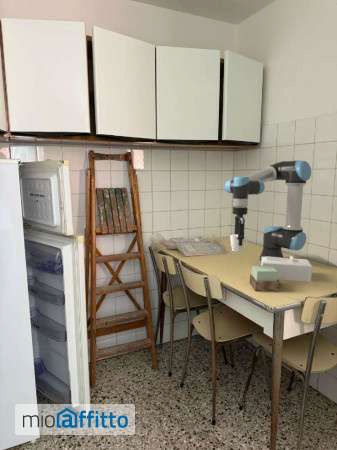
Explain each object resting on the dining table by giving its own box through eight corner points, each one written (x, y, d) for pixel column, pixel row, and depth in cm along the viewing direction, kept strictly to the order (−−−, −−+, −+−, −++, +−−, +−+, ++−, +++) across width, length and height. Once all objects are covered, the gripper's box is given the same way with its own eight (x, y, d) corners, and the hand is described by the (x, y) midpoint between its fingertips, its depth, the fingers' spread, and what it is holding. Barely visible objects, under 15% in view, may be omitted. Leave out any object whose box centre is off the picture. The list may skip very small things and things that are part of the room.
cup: (227, 249, 166) (227, 234, 165) (244, 248, 168) (244, 234, 167) (232, 251, 159) (232, 236, 158) (250, 251, 161) (250, 236, 160)
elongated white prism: (310, 282, 164) (312, 262, 163) (262, 278, 170) (263, 259, 169) (305, 273, 178) (307, 255, 176) (261, 270, 184) (261, 252, 183)
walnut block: (272, 283, 162) (272, 274, 161) (280, 292, 150) (280, 282, 149) (249, 283, 162) (249, 274, 161) (255, 291, 150) (255, 282, 150)
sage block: (270, 274, 161) (271, 265, 160) (277, 281, 151) (277, 271, 150) (251, 274, 161) (252, 265, 160) (256, 281, 151) (257, 271, 150)
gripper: (229, 204, 169) (228, 245, 173) (236, 208, 150) (234, 254, 154) (243, 204, 169) (241, 245, 173) (251, 208, 150) (249, 254, 154)
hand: (238, 249), depth 163 cm, fingers closed on cup, 6 cm apart
